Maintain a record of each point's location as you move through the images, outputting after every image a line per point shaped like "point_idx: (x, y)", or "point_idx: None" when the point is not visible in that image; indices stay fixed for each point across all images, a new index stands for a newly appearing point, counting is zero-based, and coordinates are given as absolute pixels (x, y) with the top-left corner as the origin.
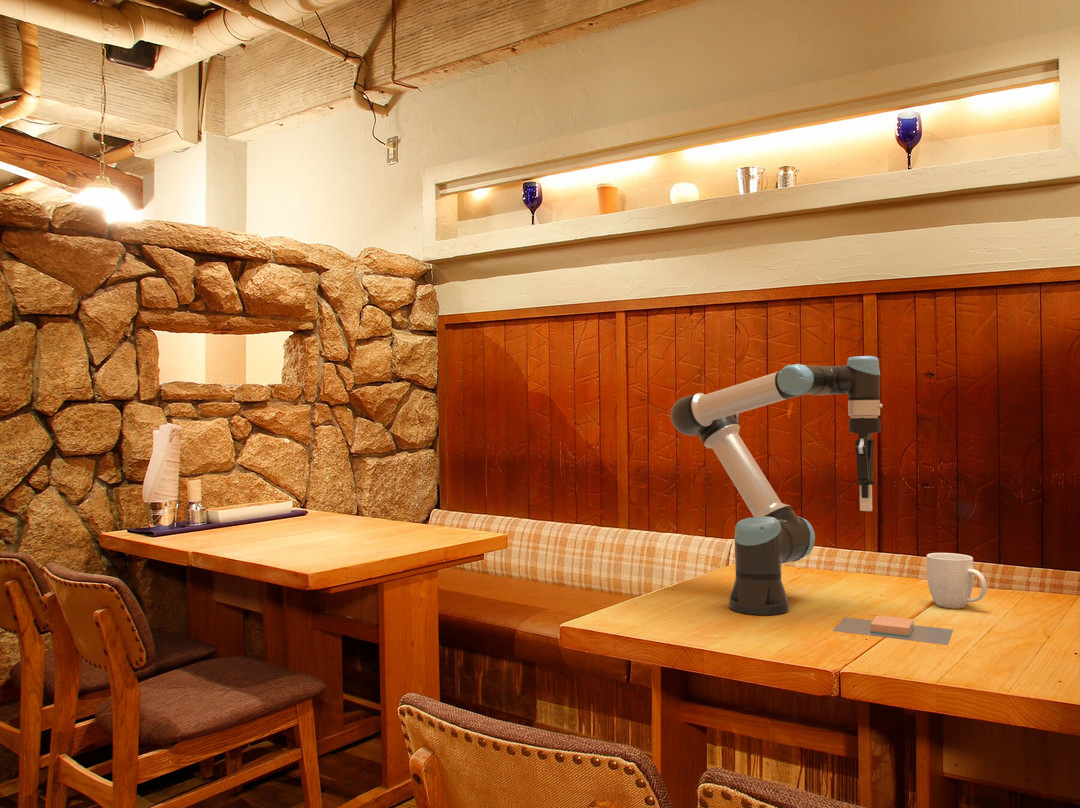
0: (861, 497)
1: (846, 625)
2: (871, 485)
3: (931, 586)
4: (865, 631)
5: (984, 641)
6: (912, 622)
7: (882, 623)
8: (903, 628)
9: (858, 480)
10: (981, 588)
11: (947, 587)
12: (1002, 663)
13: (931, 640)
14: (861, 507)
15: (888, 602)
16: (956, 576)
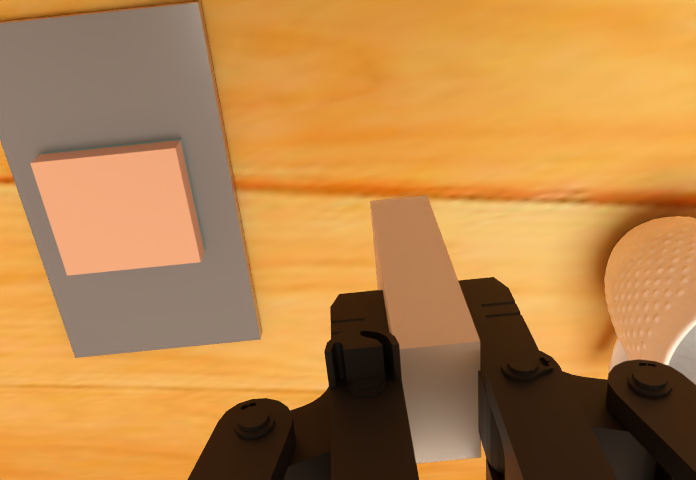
0: (381, 279)
1: (77, 50)
2: (453, 454)
3: (649, 245)
4: (44, 133)
5: (232, 401)
6: (165, 264)
7: (66, 195)
8: (64, 260)
9: (217, 435)
10: None
11: (612, 306)
12: (50, 457)
13: (88, 317)
14: (373, 228)
15: (627, 62)
16: (631, 359)
